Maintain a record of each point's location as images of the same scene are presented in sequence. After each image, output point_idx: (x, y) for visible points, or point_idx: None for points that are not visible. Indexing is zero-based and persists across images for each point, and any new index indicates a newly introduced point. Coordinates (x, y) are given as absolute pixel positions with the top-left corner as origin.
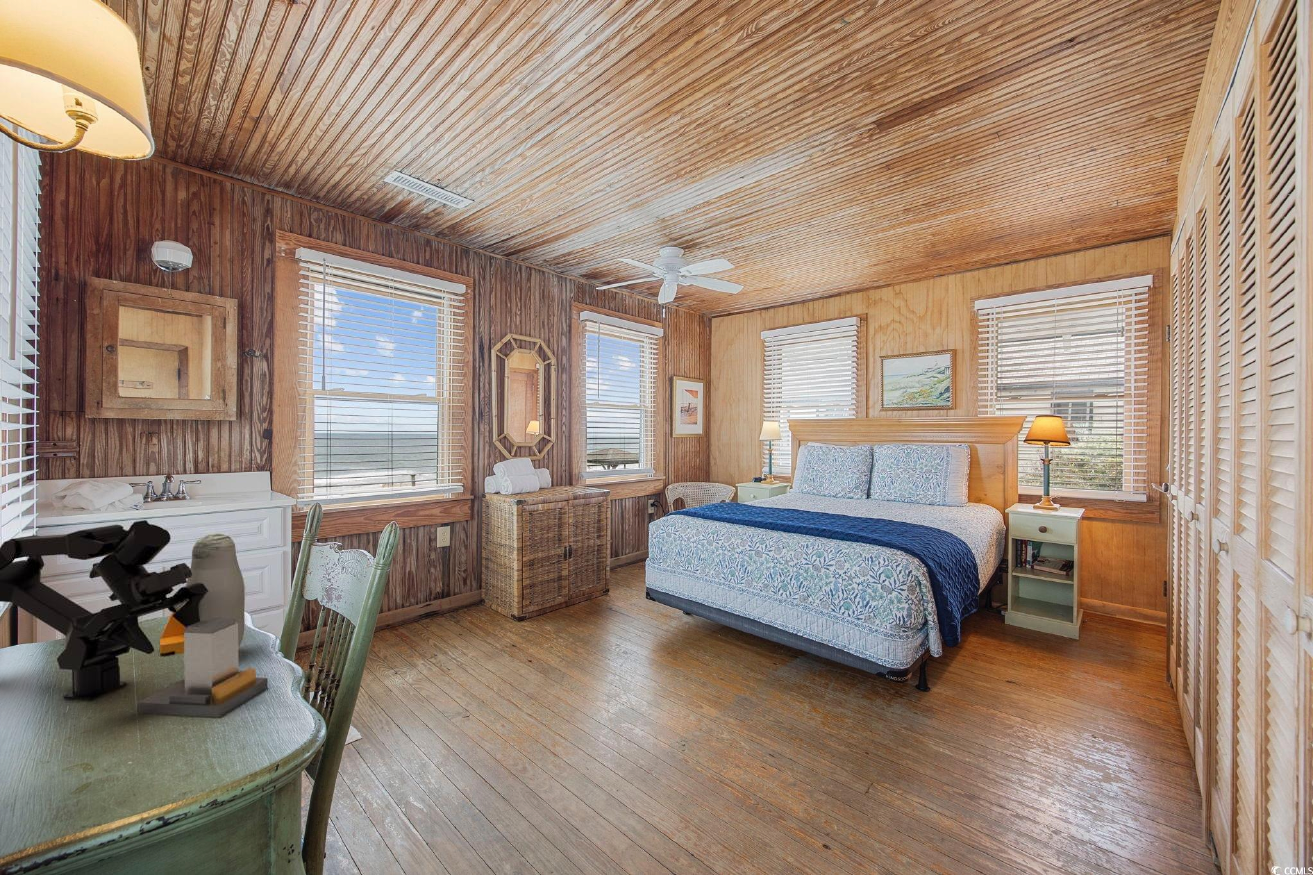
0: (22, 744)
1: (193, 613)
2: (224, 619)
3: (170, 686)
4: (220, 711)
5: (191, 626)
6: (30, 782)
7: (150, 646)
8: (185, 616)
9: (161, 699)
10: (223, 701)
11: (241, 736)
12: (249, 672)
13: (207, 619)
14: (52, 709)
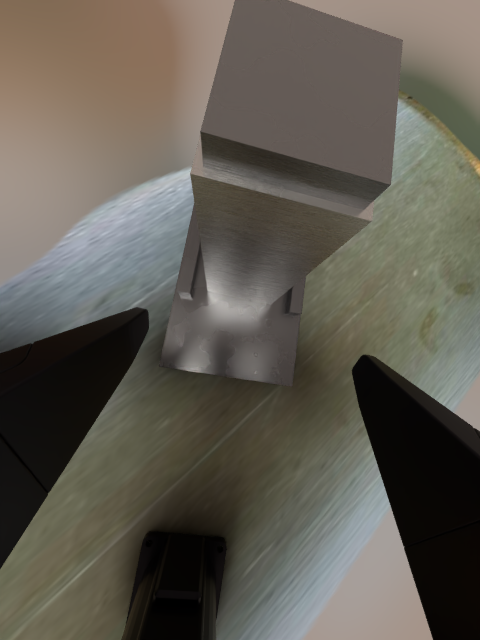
0: (382, 497)
1: (28, 374)
2: (256, 34)
3: (221, 372)
4: None
5: (384, 160)
6: (462, 369)
7: (386, 367)
8: (32, 450)
9: (281, 344)
10: None
11: None
12: None
13: (251, 134)
14: (260, 594)
